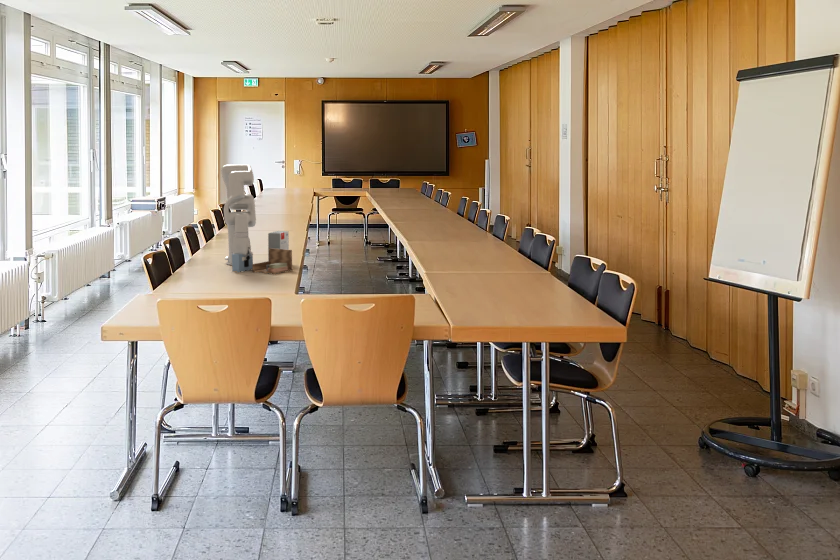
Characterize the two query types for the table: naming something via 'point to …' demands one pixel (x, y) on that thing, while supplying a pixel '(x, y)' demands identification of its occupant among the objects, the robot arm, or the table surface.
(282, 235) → the hard drive box
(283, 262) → the shelf
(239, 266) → the book
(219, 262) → the table surface
